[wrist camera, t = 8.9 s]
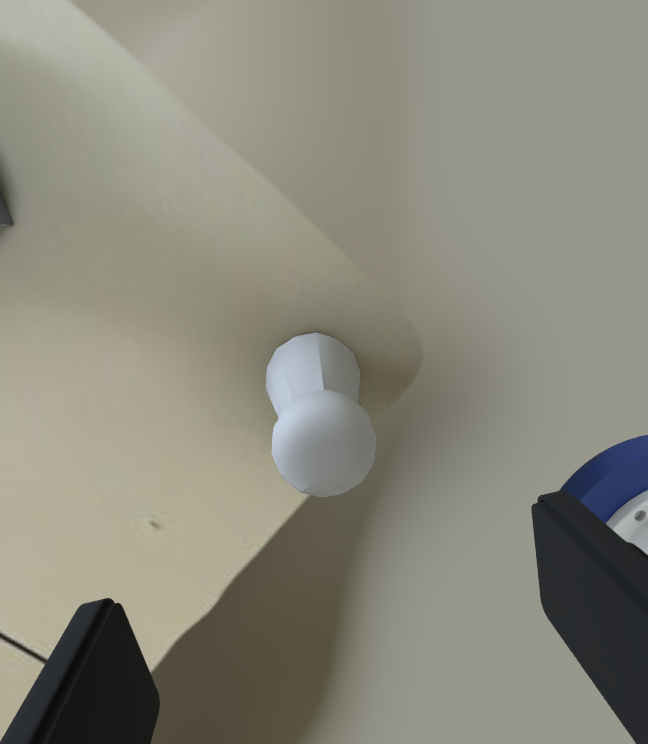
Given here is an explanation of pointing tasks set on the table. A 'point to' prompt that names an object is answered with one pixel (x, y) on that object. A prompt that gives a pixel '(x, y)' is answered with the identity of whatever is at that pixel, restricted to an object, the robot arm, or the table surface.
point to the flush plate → (4, 214)
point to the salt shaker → (319, 416)
